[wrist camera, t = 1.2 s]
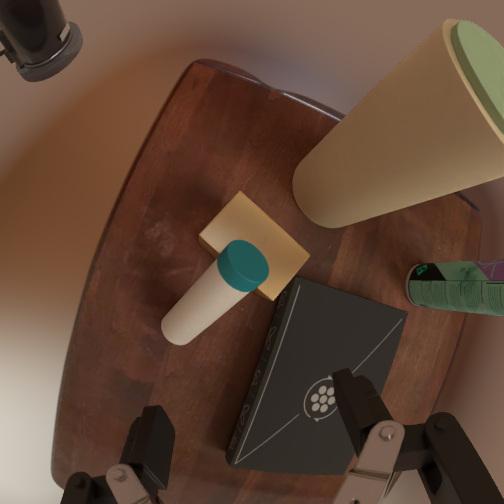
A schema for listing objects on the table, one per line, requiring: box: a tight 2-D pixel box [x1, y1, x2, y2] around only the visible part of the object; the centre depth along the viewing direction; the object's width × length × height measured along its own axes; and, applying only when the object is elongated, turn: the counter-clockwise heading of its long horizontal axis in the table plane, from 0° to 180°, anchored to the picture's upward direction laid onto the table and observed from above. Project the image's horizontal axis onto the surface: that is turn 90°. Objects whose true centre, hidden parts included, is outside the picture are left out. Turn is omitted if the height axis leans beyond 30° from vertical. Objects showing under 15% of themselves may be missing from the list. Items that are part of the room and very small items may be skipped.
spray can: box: [405, 259, 504, 316], centre depth 25 cm, size 6×6×20 cm
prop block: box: [198, 191, 310, 301], centre depth 28 cm, size 5×8×6 cm, turn 49°
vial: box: [161, 240, 269, 345], centre depth 25 cm, size 11×4×11 cm, turn 139°
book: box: [225, 276, 408, 475], centre depth 30 cm, size 22×15×3 cm
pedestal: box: [292, 19, 504, 228], centre depth 21 cm, size 9×9×24 cm
